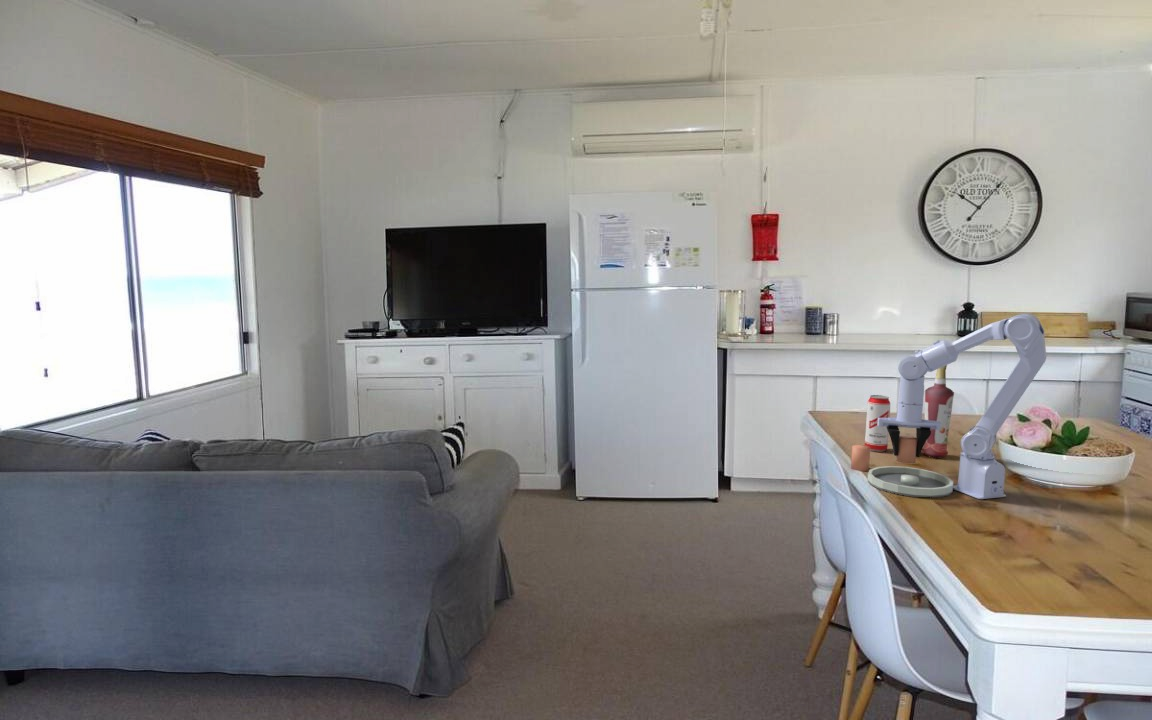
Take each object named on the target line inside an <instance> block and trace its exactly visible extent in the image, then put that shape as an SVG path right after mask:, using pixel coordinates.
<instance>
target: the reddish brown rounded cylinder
mask: <svg viewBox="0 0 1152 720" xmlns="http://www.w3.org/2000/svg"><path fill="white" fill-rule="evenodd" d="M870 458H871V451H870V447H869V446H865V444H864V445H862V444H854V445H852V446H851V458H850V460H851V461H850V469H851V470H853V471H859V472H869V470H870Z"/></svg>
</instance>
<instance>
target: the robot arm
mask: <svg viewBox="0 0 1152 720" xmlns="http://www.w3.org/2000/svg"><path fill="white" fill-rule="evenodd" d="M1006 339H1008V341H1010V342H1011V343H1012V344H1013V345H1014V347H1015V349H1016V352H1017V355H1018V357H1019V360H1018V361H1017V363H1016V365H1015V367H1014V368H1013V370H1012V371H1011V373H1010V374H1009V375H1008V377H1007V379H1006V380H1005V382H1004V384H1003V385H1002V386H1001V388H1000V389H999V390H998V391H997V393H996V395H995V397H994V398H993V400H992V401H991V403H990V404H989V406H988V407H987V408H986V411H984V413H983V415H982V416H981V417H980V419H979V420H978V422H977V423H976V424H975V425H974V426H972V427H970V429H968V431H967V433H965V434H964V435H963V436H962V437H961V440H960V447H961V451H960V454H959V465H958V466H959V467H958V477H957V478H958V479H957V484H953V490H954V491H958V492H959V493H963V494H966V495H967V496H970V497H972V498H975V499H978V500H984V499H987V500H988V499H995V498H1005V497H1007V495H1006V494H1005V493H1004V491H1005V481H1006V480H1005V477H1006V469H1005V466H1004V465H1003V464H1002V463H1000V462H998V461H997V460H996V455H995V454H994V452H993V450H991V449H992V448H993V447H994V446H995V444H996V443H997V434H998V432H999V431H1000V429H1001V428H1002V426H1003V425H1004V423H1005V421H1006V420H1007V419H1008V418H1009V416H1010V414H1011V413H1012V411H1013V410H1014V408H1015V407H1016V405H1017V404H1018V402H1019V401H1020V400H1021V398H1022V397H1023V395H1024V394H1025V392H1026V391H1027V389H1028V387H1030V384H1031V383H1032V382H1033V381H1034V379H1035V377H1036V376H1037V374H1038V373H1039V372H1040V370H1041V369H1042V367H1043V366H1044V364H1045V362H1046V360H1047V350H1046V348H1047V347H1046V341H1045V329H1044V327H1043V326H1042V324H1041V321H1040V320H1039V319H1038V317H1037V316H1036V315H1033V314H1031V313H1027V312H1026V313H1024V312H1023V313H1019V314H1017V315H1014V316H1012V317H1009V318H1004V319H1001V320H998V321H994V322H991V323H989V324H987V325H985V326H982V327H981V328H979V329H977V330H975V331H973V332H971V333H968V334H967V335H965V336H962V337H961V338H958V339H956V340H954V341H950V340H946V339H944V340H941V341H940V340H939V339H937V340H935V341H934V342H932V345H930V346H928V347H926V348H924V349H922V350H920V349H917V350H915V351H914V354H912V355H907V356H906V357H904V358H903V359H901V361H899V364H898V372H899V385H898V397H897V398H898V399H897V413H896V417H890V418H878V422H877V425H878V426H880V427H883V426H886V427H887V430H888V436H889V438H890V441H891V445H892V451H893V452H892V454H893V455H894V456H898V442H899V436H901V431H900V428H906V429H907V428H908V429H916V430H915V431H916V433H915V435H916V437H915V438H917V451H916V458H920V457H921V453H922V452H923V451H922V449H923V447H924V444H925V442H926V441H927V439H928V438H929V436H930V435H931V431H930V429H936V430H941V422H940V421H931V420H925V419H923V408H924V407H923V406H924V398H925V378H926V377H925V375H927V373H932V372H934V371H937V369H939V368H941V367H943V366H946V365H947V366H948V365H950V364H952V363H955V362H956V361H957V359H958V357H959V354H961V353H963V352H965V351H968V350H970V349H972V348H975V347H977V346H979V345H982V344H984V343H987V342H989V341H993V340H994V341H1005V340H1006Z"/></svg>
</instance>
